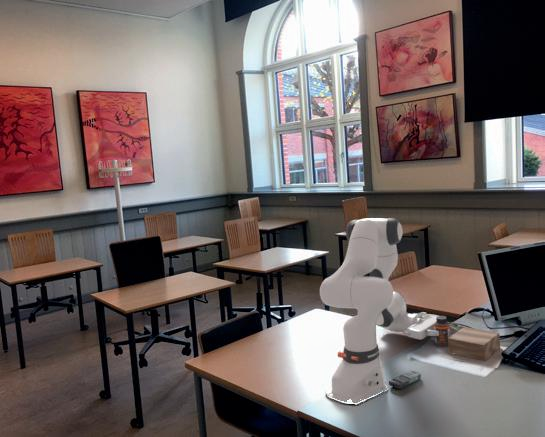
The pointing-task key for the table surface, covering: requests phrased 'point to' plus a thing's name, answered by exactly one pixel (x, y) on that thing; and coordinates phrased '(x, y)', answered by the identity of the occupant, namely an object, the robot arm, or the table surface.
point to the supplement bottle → (442, 331)
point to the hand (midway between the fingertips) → (444, 330)
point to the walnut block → (474, 343)
